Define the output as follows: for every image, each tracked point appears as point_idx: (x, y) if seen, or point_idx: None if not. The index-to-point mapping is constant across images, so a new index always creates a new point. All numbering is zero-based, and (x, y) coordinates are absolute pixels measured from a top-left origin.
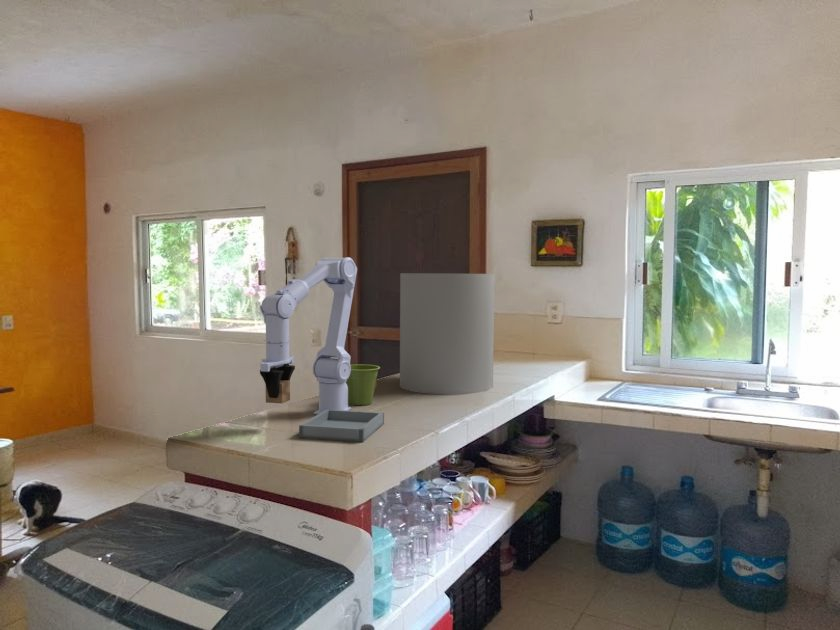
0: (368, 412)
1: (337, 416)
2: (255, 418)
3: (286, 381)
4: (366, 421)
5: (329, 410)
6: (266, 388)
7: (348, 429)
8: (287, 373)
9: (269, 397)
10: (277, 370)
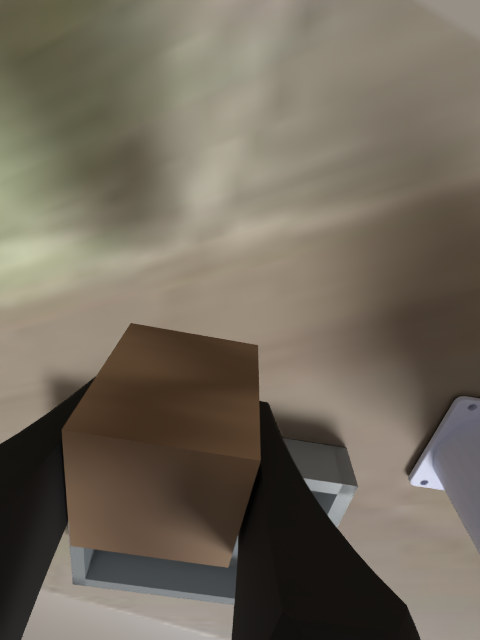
0: None
1: (322, 496)
2: (431, 118)
3: (178, 555)
4: None
5: (336, 495)
6: (88, 395)
7: (72, 556)
8: (237, 634)
9: (94, 377)
10: (259, 610)
